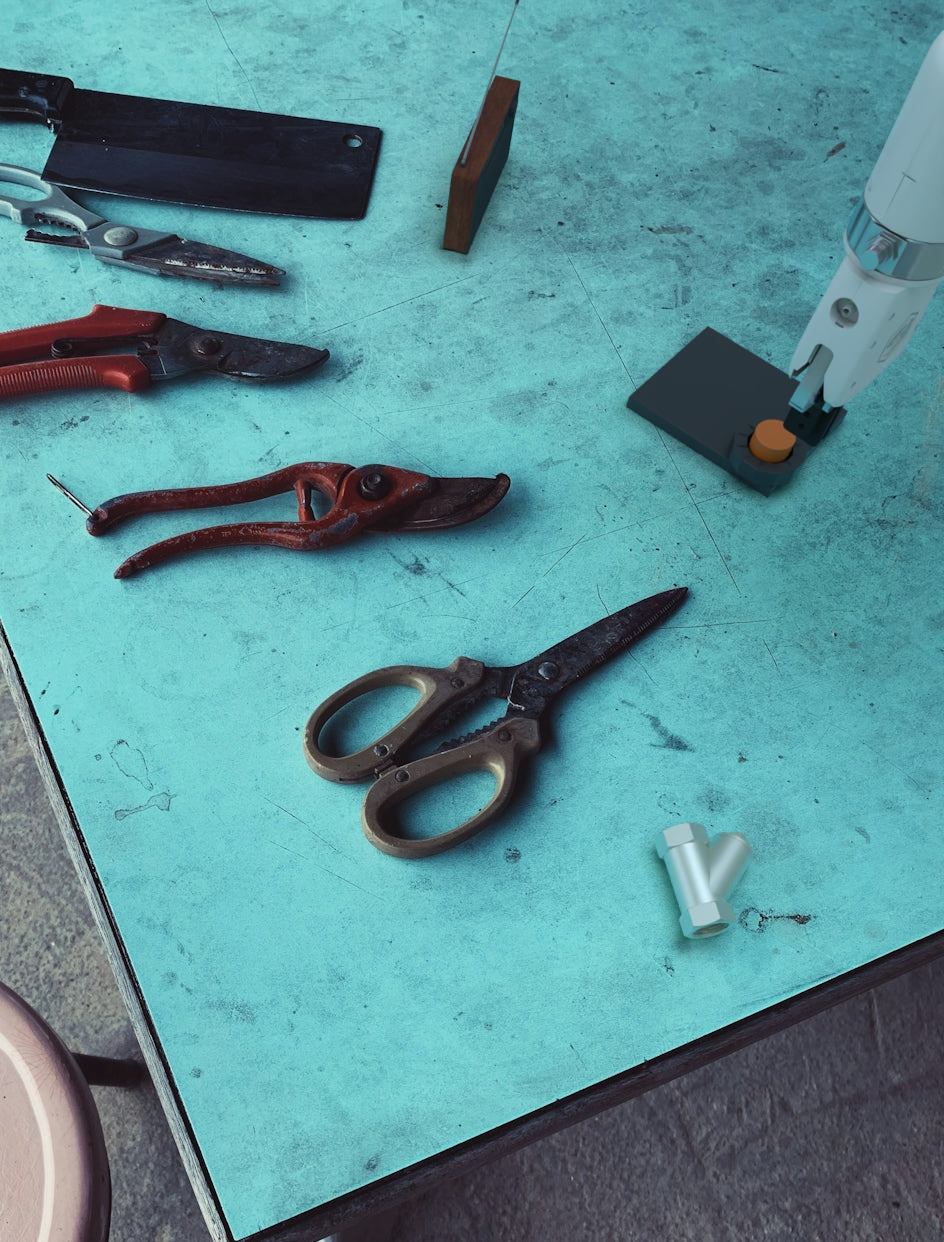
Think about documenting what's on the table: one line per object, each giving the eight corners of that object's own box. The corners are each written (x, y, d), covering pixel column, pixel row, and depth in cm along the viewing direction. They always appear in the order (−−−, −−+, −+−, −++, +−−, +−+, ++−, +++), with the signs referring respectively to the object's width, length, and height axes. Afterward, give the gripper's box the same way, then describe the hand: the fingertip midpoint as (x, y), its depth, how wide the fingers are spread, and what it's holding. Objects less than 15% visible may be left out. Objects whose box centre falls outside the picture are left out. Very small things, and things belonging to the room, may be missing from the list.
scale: (849, 425, 113) (862, 402, 110) (769, 507, 108) (780, 485, 106) (703, 336, 118) (712, 312, 115) (620, 411, 113) (628, 387, 110)
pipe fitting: (729, 836, 94) (649, 845, 92) (750, 813, 90) (666, 823, 89) (763, 931, 90) (680, 942, 89) (785, 911, 87) (699, 923, 85)
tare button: (796, 448, 108) (803, 434, 106) (774, 470, 107) (781, 456, 105) (763, 427, 109) (769, 413, 107) (741, 448, 108) (747, 434, 106)
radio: (470, 256, 122) (491, 115, 109) (442, 249, 122) (459, 107, 109) (516, 146, 130) (541, 2, 117) (489, 140, 130) (511, -5, 117)
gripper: (896, 315, 75) (788, 510, 91) (1017, 205, 80) (894, 409, 96) (796, 254, 77) (709, 456, 93) (920, 152, 82) (817, 360, 98)
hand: (803, 432), depth 95 cm, fingers closed
